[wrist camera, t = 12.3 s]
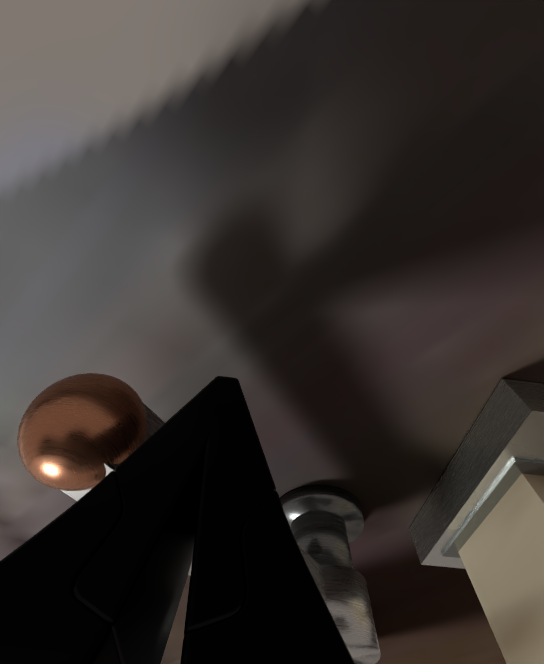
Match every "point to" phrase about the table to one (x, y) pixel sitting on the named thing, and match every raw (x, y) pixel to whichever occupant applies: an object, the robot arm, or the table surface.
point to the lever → (124, 438)
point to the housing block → (512, 570)
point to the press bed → (482, 471)
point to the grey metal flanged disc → (324, 522)
